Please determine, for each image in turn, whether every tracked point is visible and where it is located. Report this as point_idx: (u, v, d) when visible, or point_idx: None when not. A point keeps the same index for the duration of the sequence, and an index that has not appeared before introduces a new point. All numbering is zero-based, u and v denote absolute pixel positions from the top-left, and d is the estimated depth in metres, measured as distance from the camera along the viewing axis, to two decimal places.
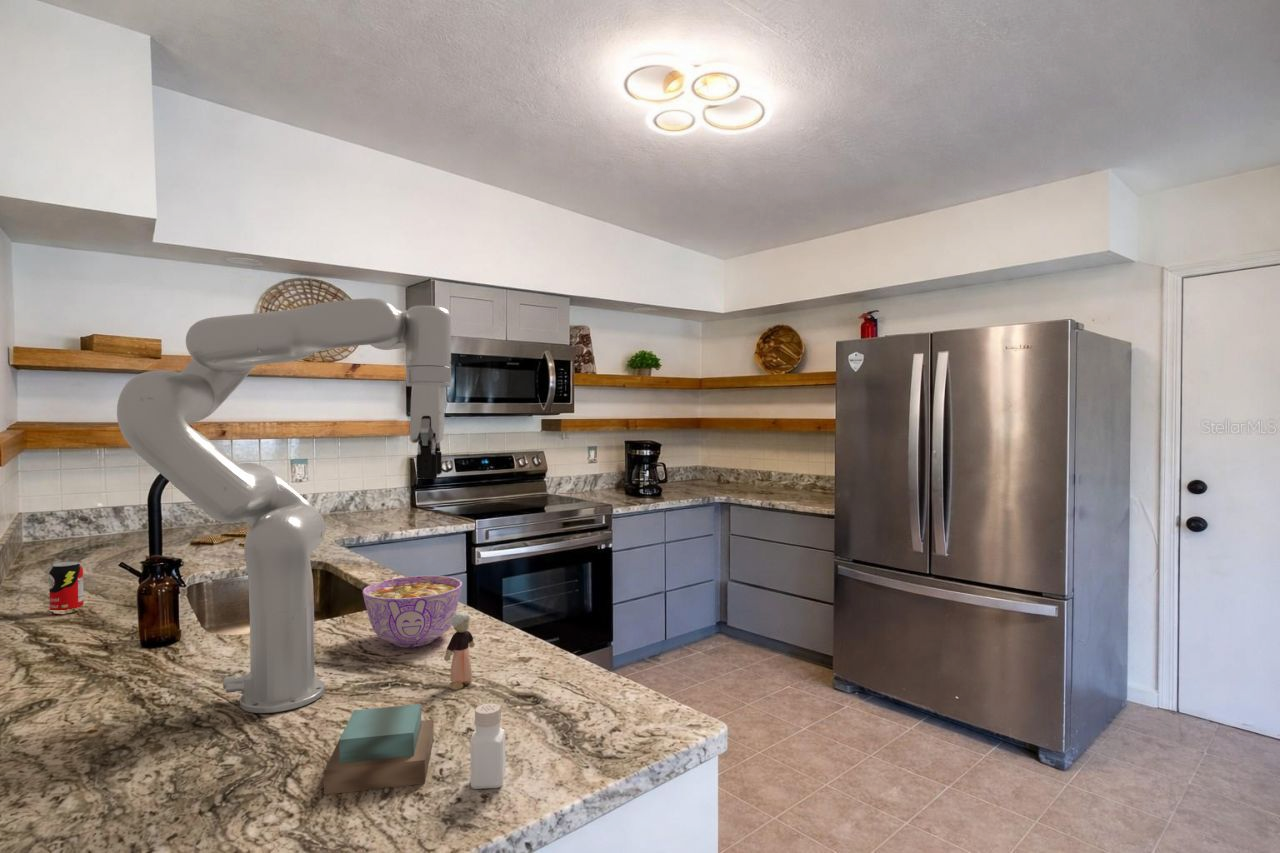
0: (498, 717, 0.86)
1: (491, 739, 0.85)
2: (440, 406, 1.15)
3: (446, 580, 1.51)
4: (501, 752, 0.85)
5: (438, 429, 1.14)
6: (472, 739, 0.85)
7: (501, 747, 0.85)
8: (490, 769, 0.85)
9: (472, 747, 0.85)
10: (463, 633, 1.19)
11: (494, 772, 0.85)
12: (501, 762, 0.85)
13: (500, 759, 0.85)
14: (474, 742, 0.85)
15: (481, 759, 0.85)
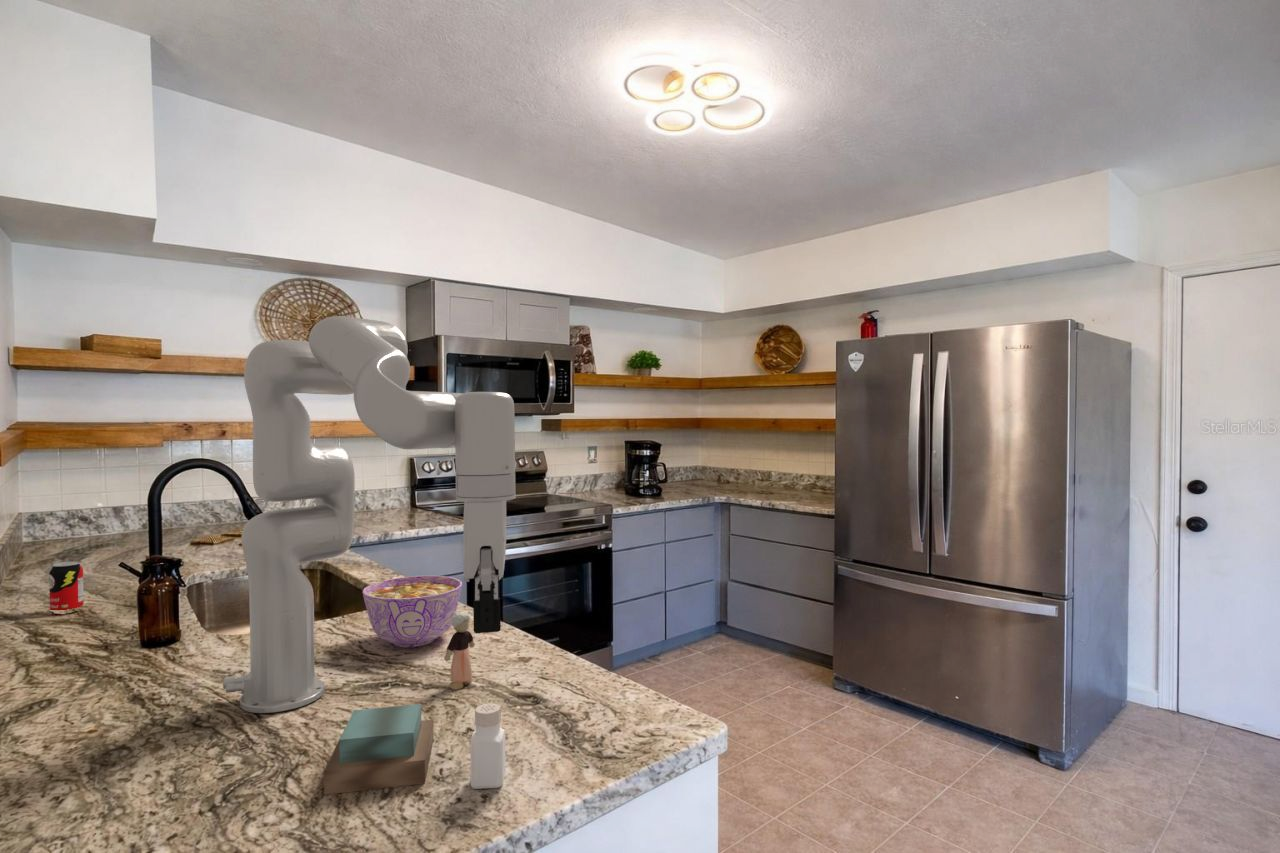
0: (498, 717, 0.86)
1: (491, 739, 0.85)
2: (504, 530, 0.84)
3: (446, 580, 1.51)
4: (501, 752, 0.85)
5: (501, 563, 0.83)
6: (472, 739, 0.85)
7: (501, 747, 0.85)
8: (490, 769, 0.85)
9: (472, 747, 0.85)
10: (463, 633, 1.19)
11: (494, 772, 0.85)
12: (501, 762, 0.85)
13: (500, 759, 0.85)
14: (474, 742, 0.85)
15: (481, 759, 0.85)
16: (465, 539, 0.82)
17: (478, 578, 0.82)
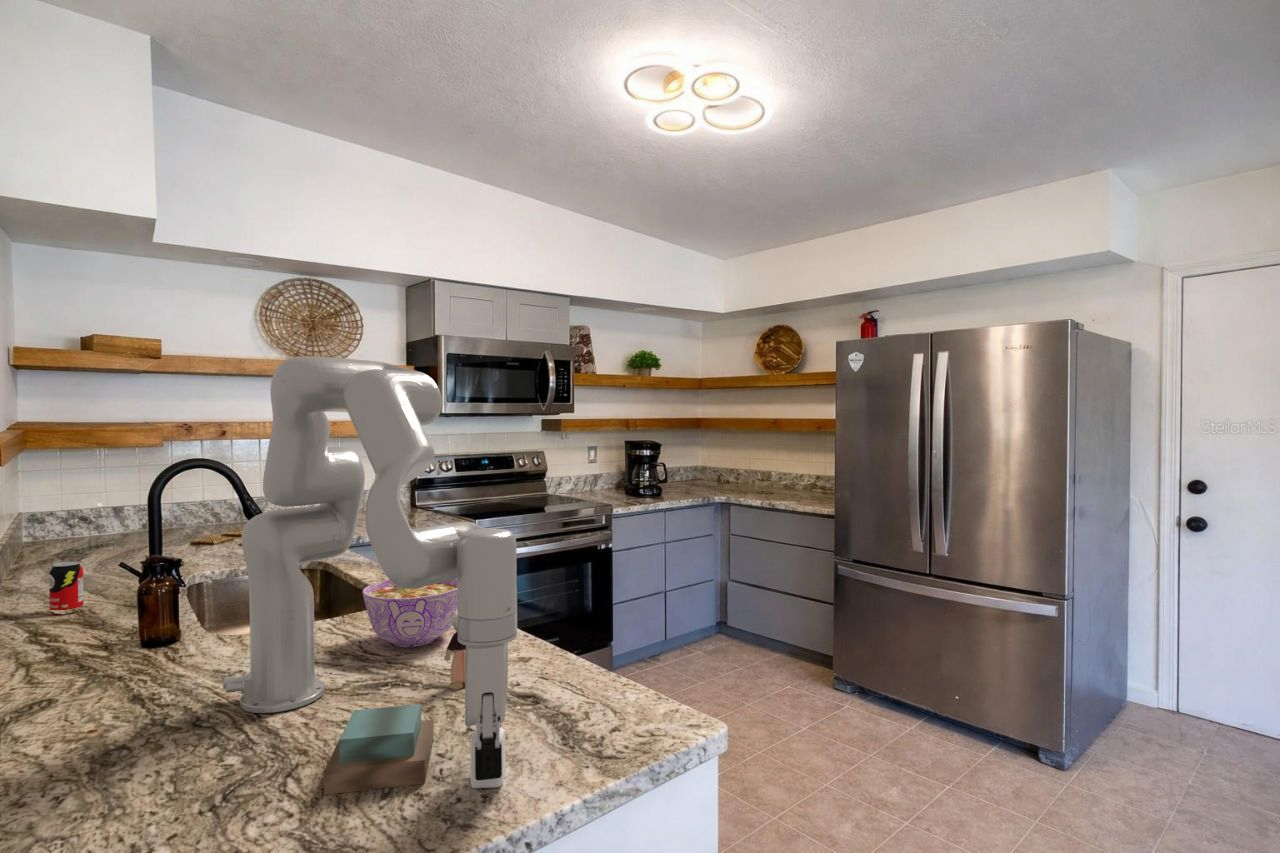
0: None
1: None
2: (505, 674, 0.84)
3: None
4: None
5: (503, 709, 0.83)
6: (472, 738, 0.86)
7: None
8: None
9: (472, 746, 0.85)
10: None
11: None
12: None
13: None
14: (474, 741, 0.85)
15: None
16: (467, 686, 0.82)
17: (480, 727, 0.84)
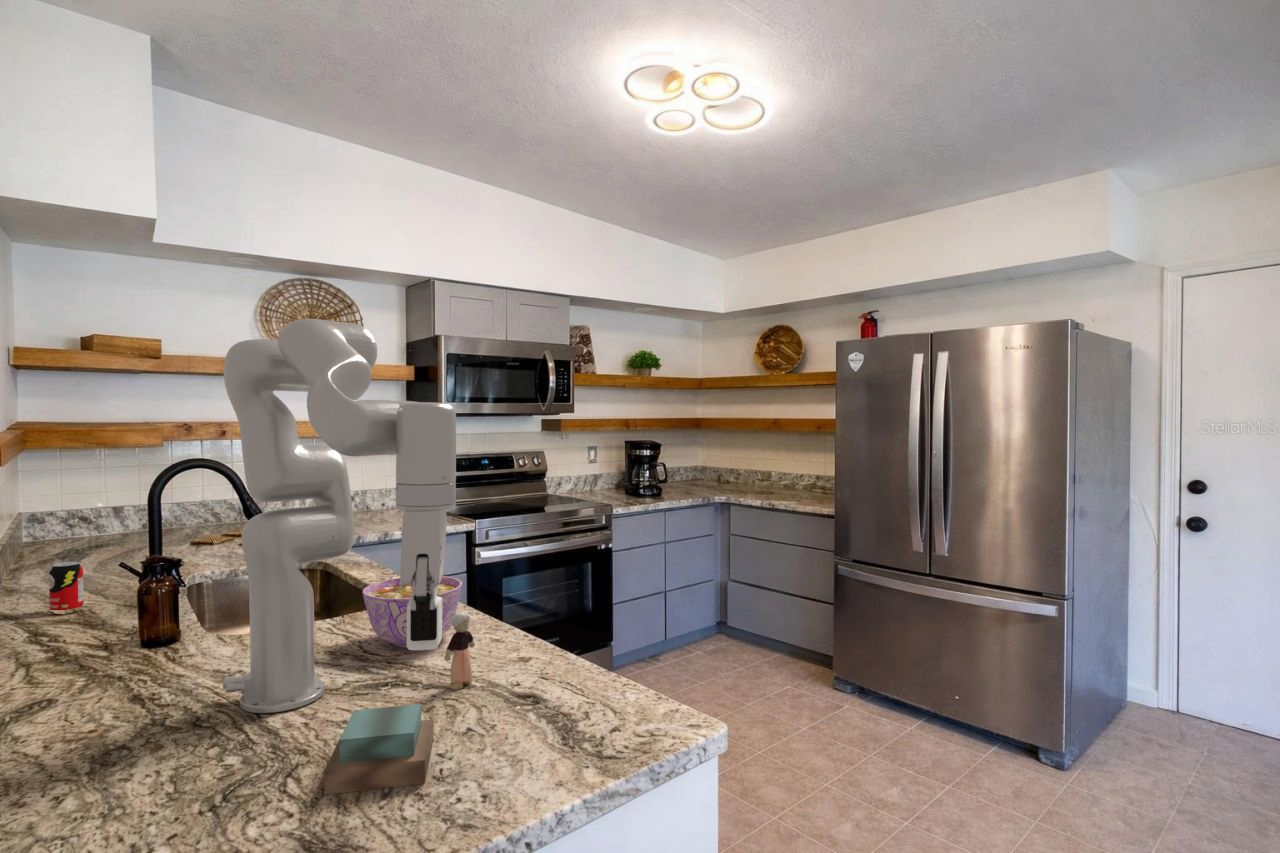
0: None
1: None
2: (441, 538, 0.86)
3: (446, 580, 1.51)
4: (437, 615, 0.88)
5: (437, 571, 0.85)
6: (409, 602, 0.88)
7: (437, 610, 0.88)
8: None
9: (408, 609, 0.87)
10: (463, 633, 1.19)
11: None
12: (437, 625, 0.88)
13: None
14: (411, 604, 0.87)
15: None
16: (402, 547, 0.84)
17: (415, 590, 0.86)
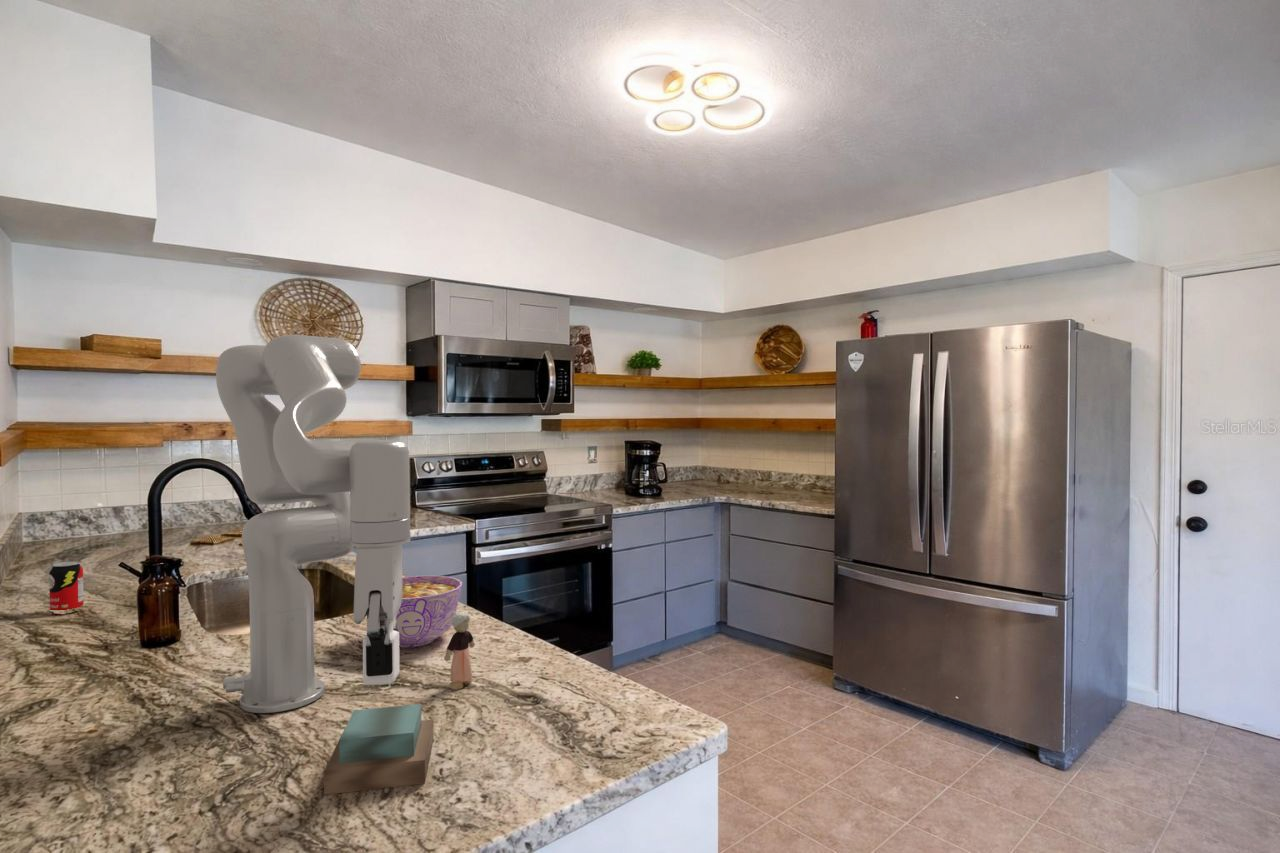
0: None
1: None
2: (394, 574, 0.88)
3: (446, 580, 1.51)
4: (392, 650, 0.90)
5: (390, 606, 0.87)
6: (365, 638, 0.90)
7: (392, 645, 0.90)
8: None
9: (364, 644, 0.89)
10: (463, 633, 1.19)
11: None
12: None
13: None
14: None
15: None
16: (355, 584, 0.86)
17: None
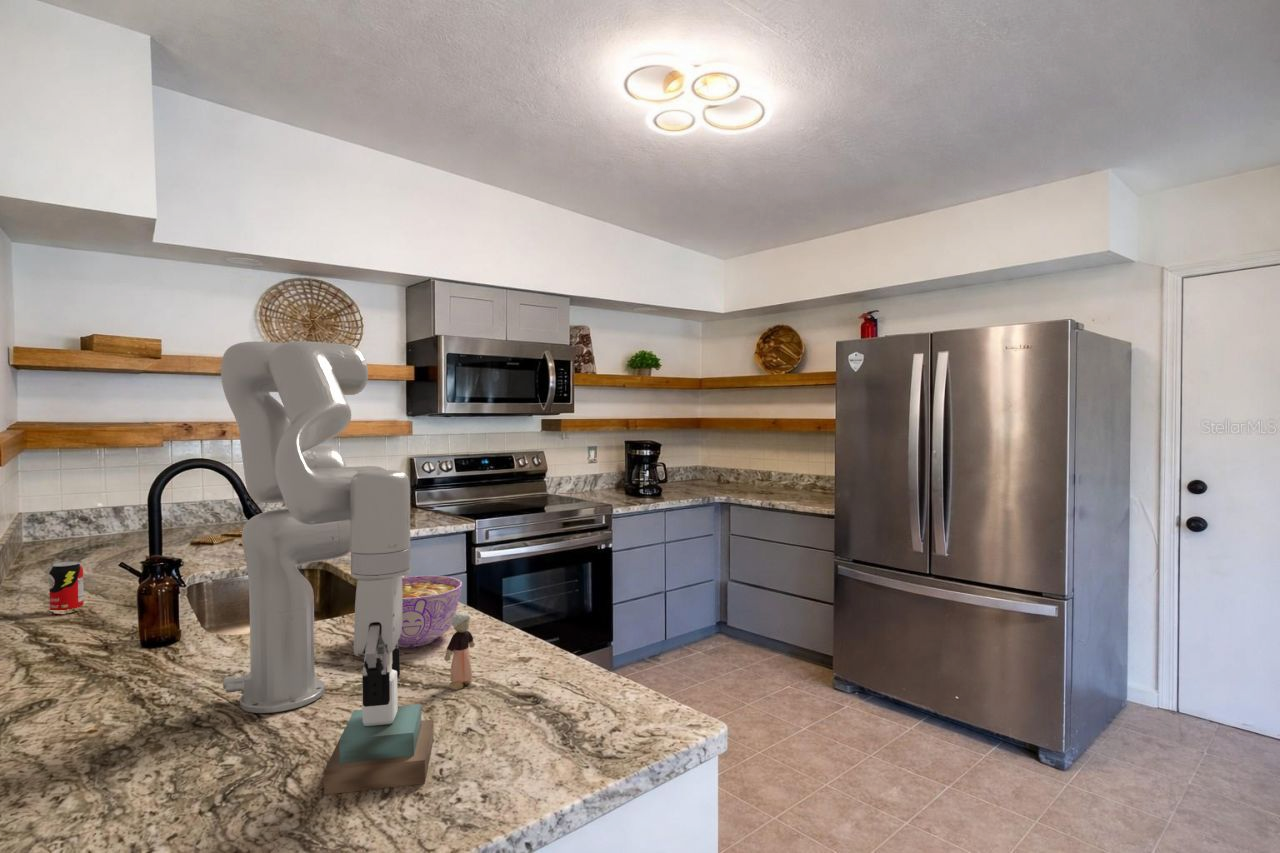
0: (390, 658, 0.91)
1: None
2: (394, 606, 0.88)
3: (446, 580, 1.51)
4: (392, 690, 0.90)
5: (390, 638, 0.87)
6: None
7: (392, 685, 0.90)
8: (382, 707, 0.90)
9: None
10: (463, 633, 1.19)
11: (386, 709, 0.90)
12: (392, 700, 0.90)
13: (391, 697, 0.90)
14: None
15: None
16: (355, 616, 0.86)
17: None
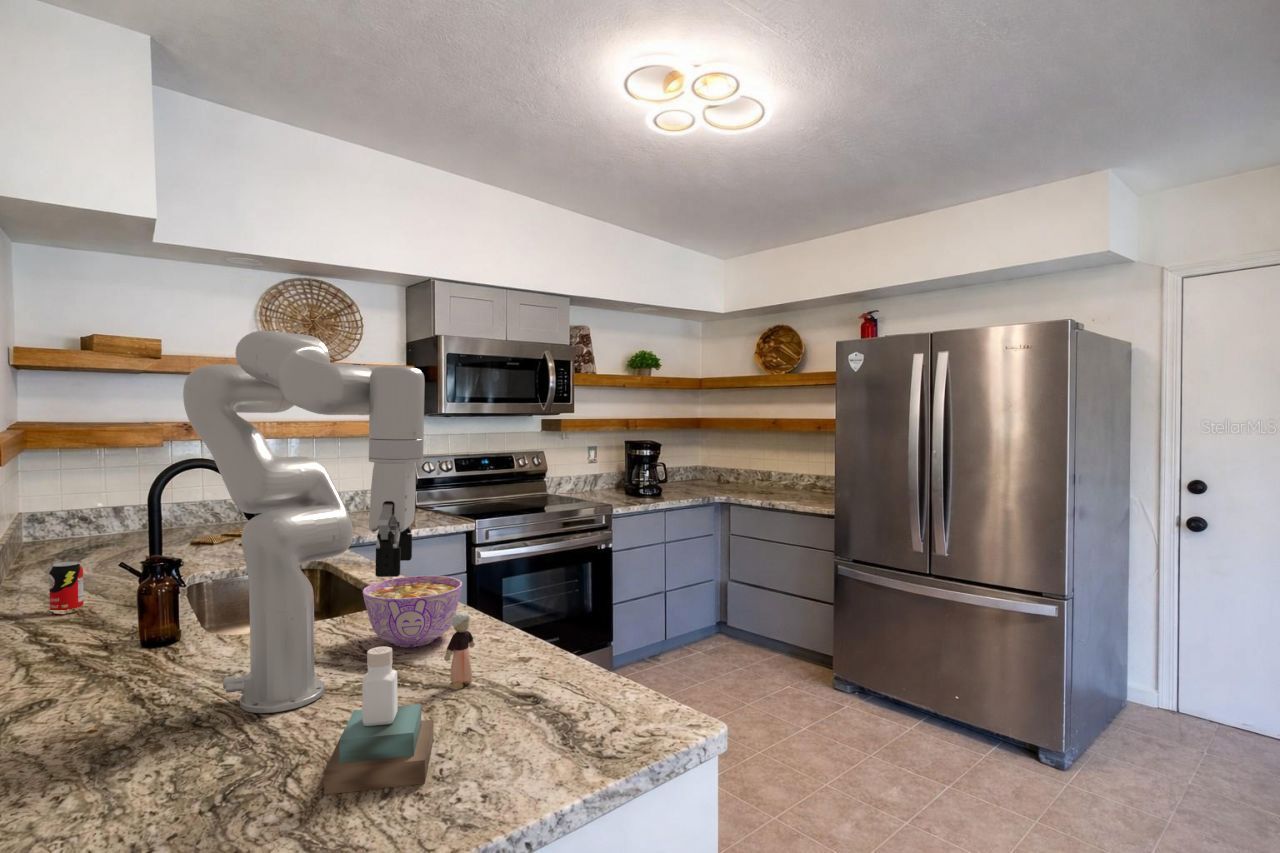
0: (390, 658, 0.91)
1: (383, 678, 0.90)
2: (407, 488, 0.96)
3: (446, 580, 1.51)
4: (393, 690, 0.90)
5: (402, 517, 0.95)
6: (364, 679, 0.90)
7: (393, 685, 0.90)
8: (382, 707, 0.90)
9: (364, 686, 0.89)
10: (463, 633, 1.19)
11: (386, 709, 0.90)
12: (393, 700, 0.90)
13: (392, 697, 0.90)
14: (366, 681, 0.89)
15: (372, 697, 0.89)
16: (371, 494, 0.94)
17: None
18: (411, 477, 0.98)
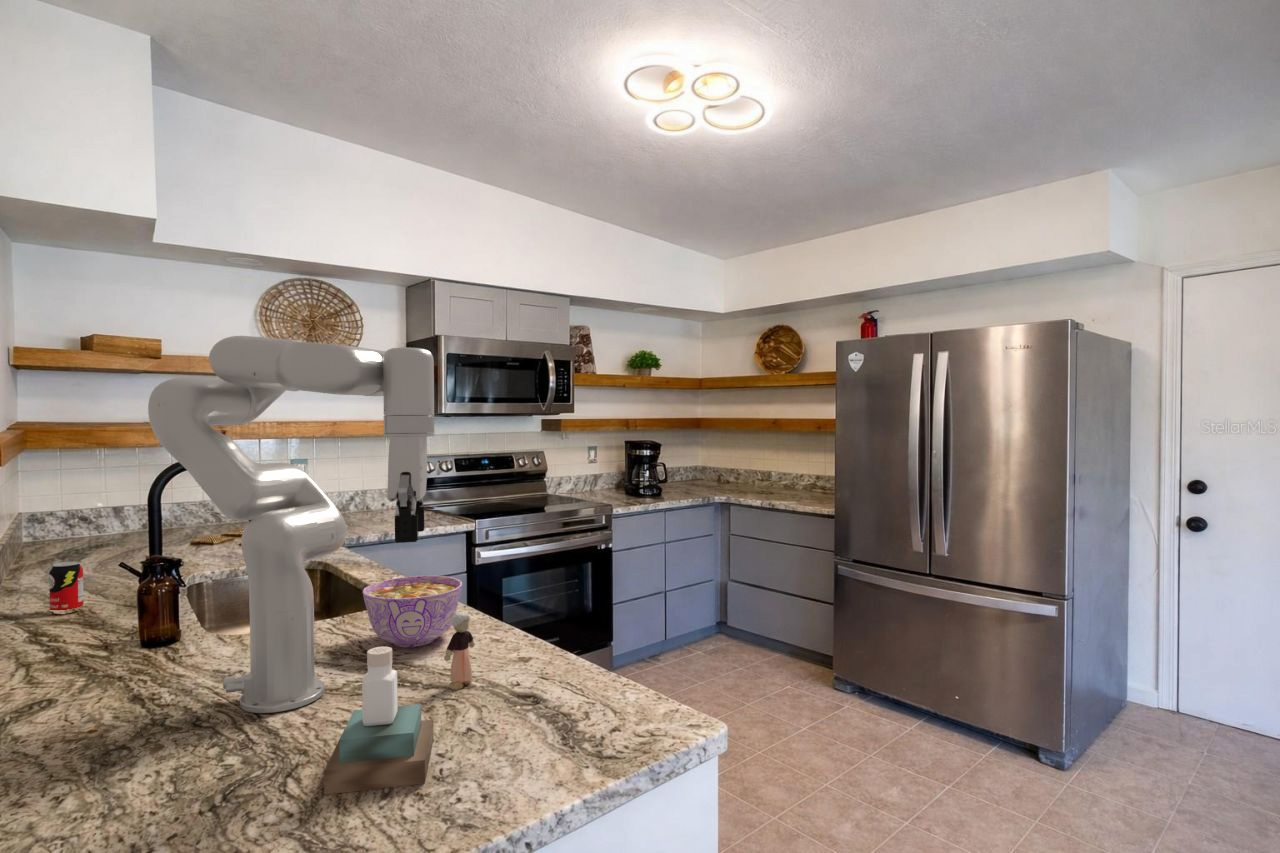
0: (390, 658, 0.91)
1: (383, 678, 0.90)
2: (421, 460, 1.03)
3: (446, 580, 1.51)
4: (393, 690, 0.90)
5: (418, 486, 1.02)
6: (364, 679, 0.90)
7: (392, 685, 0.90)
8: (382, 707, 0.90)
9: (364, 686, 0.89)
10: (463, 633, 1.19)
11: (386, 709, 0.90)
12: (393, 700, 0.90)
13: (391, 697, 0.90)
14: (366, 681, 0.89)
15: (372, 697, 0.89)
16: (388, 466, 1.01)
17: (399, 498, 1.01)
18: (424, 450, 1.05)
